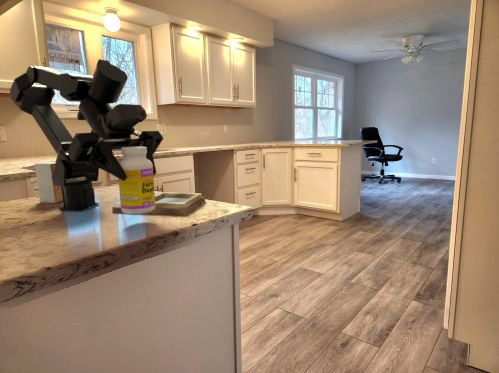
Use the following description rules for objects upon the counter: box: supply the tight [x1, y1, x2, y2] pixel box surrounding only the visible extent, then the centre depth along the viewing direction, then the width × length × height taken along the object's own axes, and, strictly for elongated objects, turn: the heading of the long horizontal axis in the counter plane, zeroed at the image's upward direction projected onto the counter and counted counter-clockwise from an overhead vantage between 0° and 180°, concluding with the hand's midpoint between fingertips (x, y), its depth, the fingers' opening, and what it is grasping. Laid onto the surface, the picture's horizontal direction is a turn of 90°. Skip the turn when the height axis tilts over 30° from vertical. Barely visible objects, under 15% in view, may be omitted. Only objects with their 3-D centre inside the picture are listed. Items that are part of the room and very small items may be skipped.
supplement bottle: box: [117, 147, 156, 215], centre depth 64 cm, size 7×7×13 cm
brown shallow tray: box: [111, 191, 206, 217], centre depth 78 cm, size 18×13×2 cm
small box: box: [34, 160, 78, 204], centre depth 87 cm, size 8×6×10 cm
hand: (140, 176), depth 63 cm, fingers closed on supplement bottle, 7 cm apart
